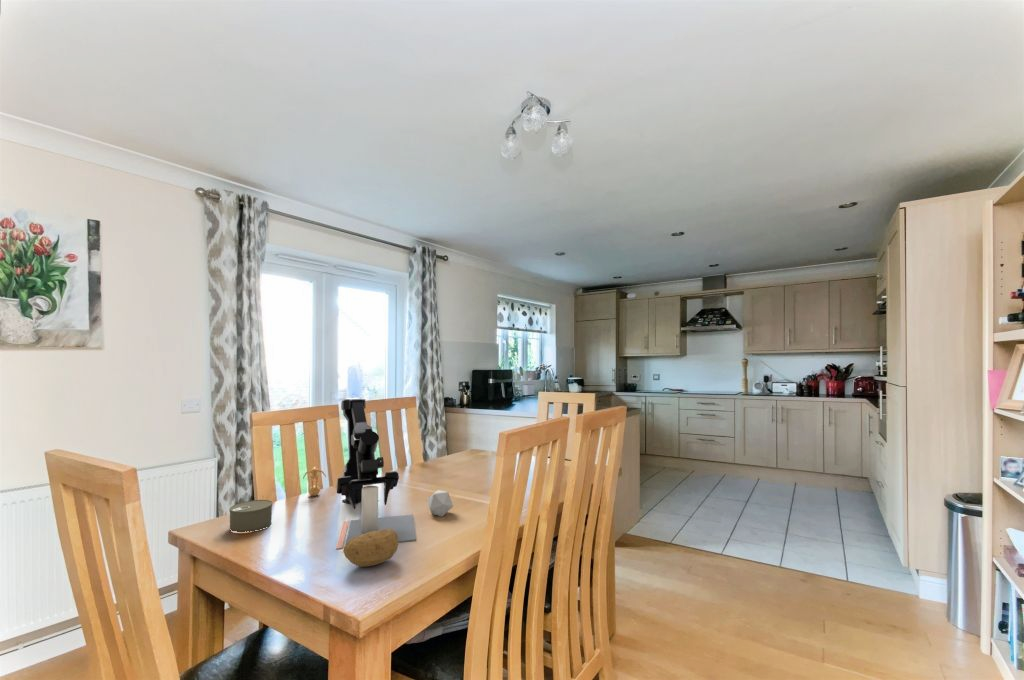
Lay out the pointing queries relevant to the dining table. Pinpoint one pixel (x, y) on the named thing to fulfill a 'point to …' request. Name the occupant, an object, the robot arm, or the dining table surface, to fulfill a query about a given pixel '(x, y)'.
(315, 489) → the figurine
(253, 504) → the can
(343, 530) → the strip
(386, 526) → the mat
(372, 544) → the potato
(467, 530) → the dining table surface
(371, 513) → the cream teardrop shape
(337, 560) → the dining table surface
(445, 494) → the die
